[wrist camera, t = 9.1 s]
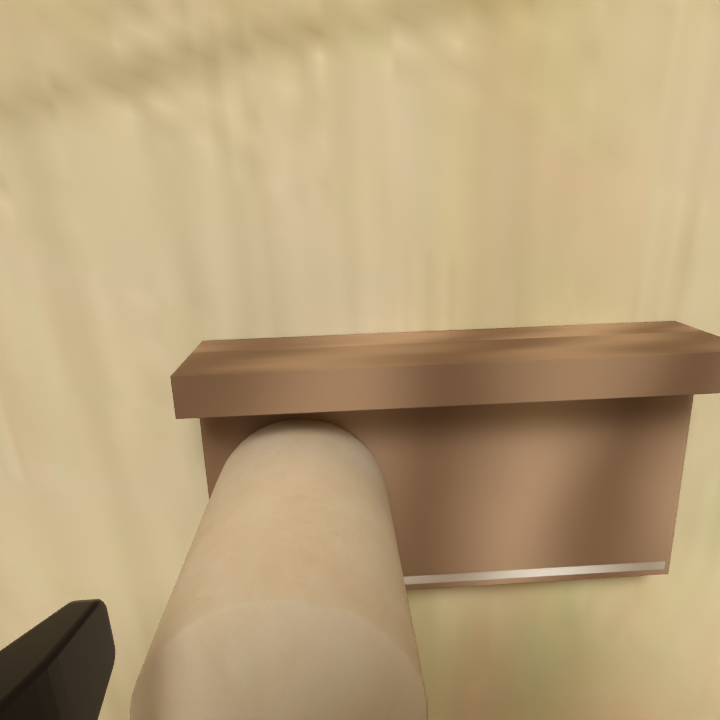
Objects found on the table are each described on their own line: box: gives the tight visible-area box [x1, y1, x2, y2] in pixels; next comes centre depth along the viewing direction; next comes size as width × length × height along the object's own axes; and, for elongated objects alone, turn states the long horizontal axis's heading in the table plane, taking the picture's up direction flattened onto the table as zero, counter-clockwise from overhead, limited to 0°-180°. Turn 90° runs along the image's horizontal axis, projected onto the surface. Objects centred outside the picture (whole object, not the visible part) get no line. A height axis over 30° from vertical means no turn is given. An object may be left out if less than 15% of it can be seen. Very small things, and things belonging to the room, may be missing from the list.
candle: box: [130, 418, 428, 720], centre depth 14 cm, size 6×6×10 cm
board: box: [170, 321, 720, 590], centre depth 18 cm, size 16×9×4 cm, turn 91°
